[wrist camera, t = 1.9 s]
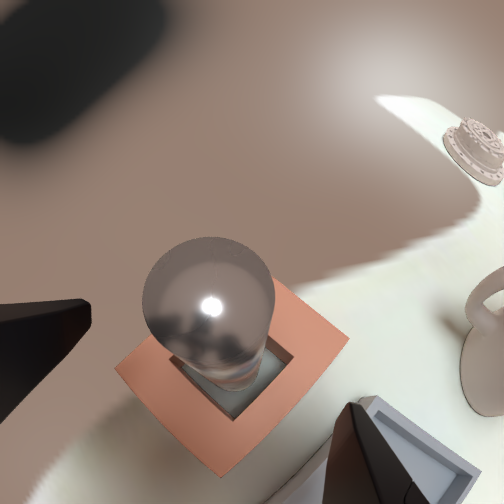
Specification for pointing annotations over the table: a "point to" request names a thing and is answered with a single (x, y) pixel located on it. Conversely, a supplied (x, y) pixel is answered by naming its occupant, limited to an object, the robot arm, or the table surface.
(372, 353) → the table surface
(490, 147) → the mechanical component
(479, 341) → the mug
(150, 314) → the pin
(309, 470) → the tray
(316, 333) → the block
